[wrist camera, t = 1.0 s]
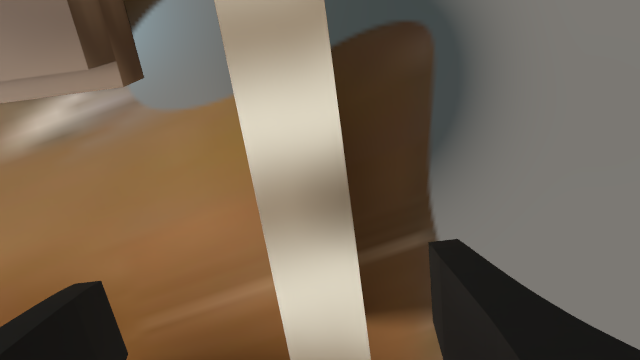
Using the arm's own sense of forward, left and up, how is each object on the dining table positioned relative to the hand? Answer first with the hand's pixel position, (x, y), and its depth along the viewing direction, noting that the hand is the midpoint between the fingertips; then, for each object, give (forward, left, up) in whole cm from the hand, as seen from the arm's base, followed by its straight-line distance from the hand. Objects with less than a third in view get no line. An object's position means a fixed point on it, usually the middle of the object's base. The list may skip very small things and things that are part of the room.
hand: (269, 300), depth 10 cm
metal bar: (-1, 0, -10) cm, 10 cm away
